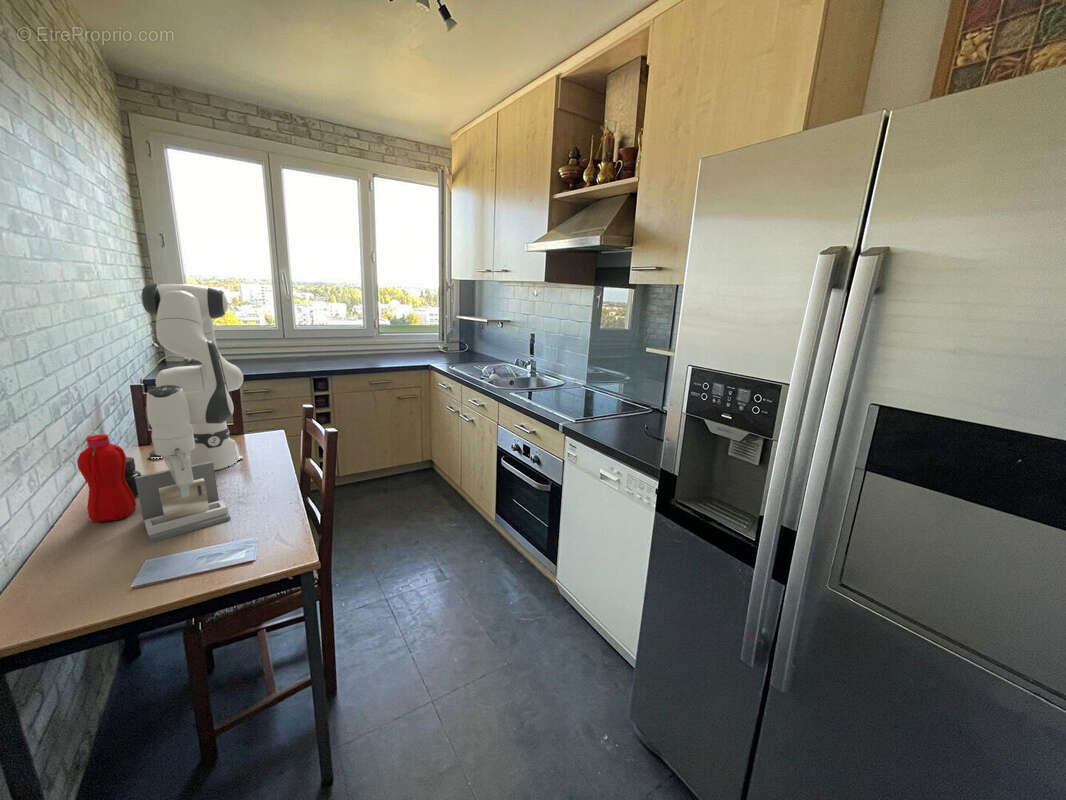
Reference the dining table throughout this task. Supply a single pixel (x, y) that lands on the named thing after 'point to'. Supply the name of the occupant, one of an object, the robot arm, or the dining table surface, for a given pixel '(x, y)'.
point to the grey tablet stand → (161, 529)
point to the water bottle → (105, 480)
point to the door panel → (183, 500)
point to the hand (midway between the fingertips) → (182, 490)
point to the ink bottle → (131, 475)
